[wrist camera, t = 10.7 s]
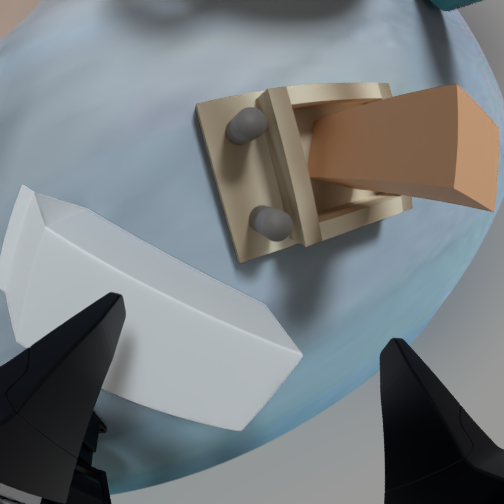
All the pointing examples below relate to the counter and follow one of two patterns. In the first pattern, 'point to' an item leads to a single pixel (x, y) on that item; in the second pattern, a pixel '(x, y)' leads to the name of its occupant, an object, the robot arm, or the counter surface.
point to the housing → (285, 167)
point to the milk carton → (144, 314)
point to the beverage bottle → (452, 4)
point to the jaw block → (412, 148)
